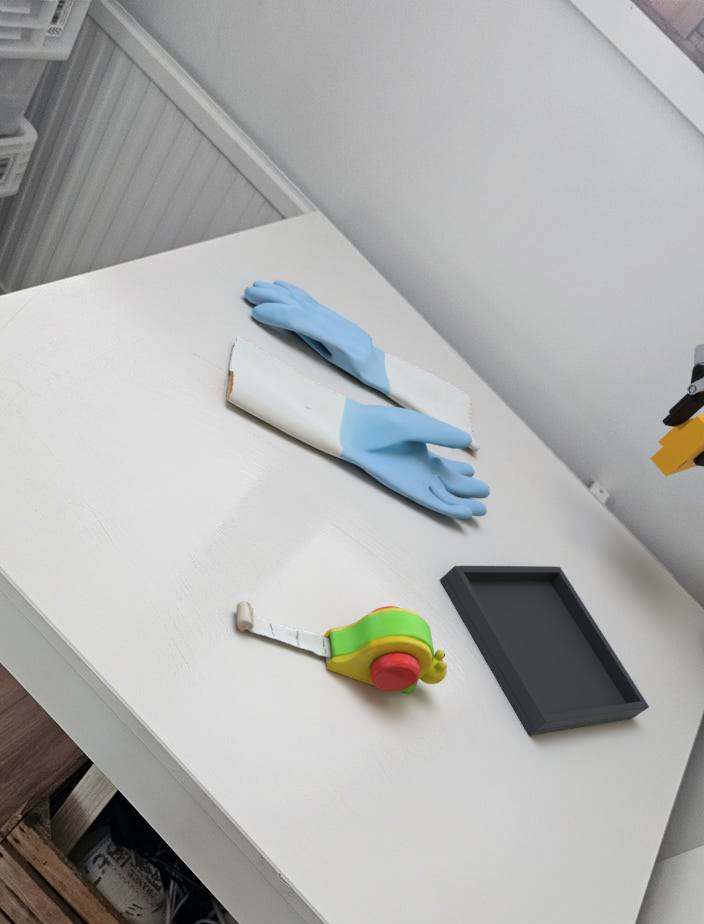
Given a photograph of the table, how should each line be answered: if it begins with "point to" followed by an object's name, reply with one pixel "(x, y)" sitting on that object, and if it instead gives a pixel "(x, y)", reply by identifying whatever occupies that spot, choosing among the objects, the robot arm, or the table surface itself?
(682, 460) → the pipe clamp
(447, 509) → the rubber gloves
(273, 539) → the table surface
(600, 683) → the dark grey tray
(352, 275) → the table surface
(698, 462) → the robot arm
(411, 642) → the toy measuring tape
